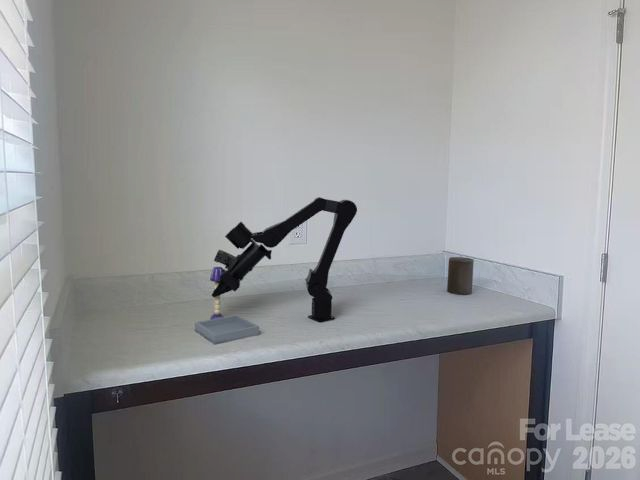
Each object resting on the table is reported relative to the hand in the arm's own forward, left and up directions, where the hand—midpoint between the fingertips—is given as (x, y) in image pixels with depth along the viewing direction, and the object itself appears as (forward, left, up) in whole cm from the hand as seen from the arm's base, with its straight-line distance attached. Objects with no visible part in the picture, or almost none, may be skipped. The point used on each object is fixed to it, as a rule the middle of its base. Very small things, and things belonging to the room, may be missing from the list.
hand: (213, 294), depth 143 cm
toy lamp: (-1, -1, -8) cm, 8 cm away
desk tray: (-13, +2, -8) cm, 16 cm away
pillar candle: (-21, -97, -8) cm, 100 cm away
